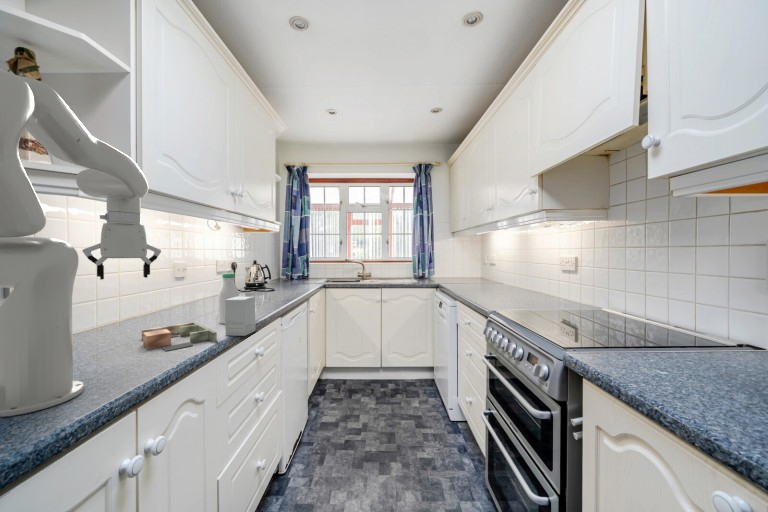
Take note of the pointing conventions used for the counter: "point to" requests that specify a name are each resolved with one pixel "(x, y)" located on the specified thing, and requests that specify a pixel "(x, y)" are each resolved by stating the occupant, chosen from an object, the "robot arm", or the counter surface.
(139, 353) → the counter surface
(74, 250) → the robot arm
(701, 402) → the counter surface
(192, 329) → the green-grey pronged frame
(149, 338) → the block
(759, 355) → the counter surface
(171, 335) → the plate
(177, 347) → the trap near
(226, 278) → the milk bottle
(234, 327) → the supplement box
